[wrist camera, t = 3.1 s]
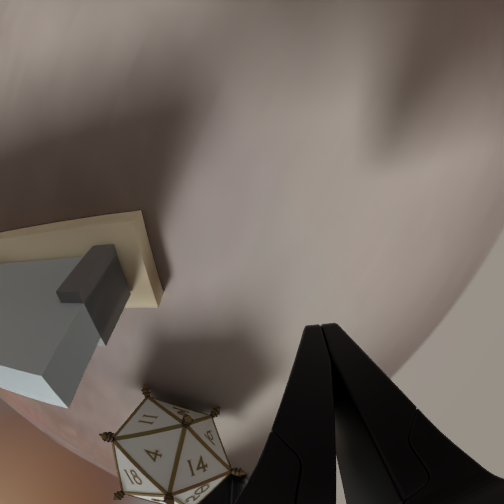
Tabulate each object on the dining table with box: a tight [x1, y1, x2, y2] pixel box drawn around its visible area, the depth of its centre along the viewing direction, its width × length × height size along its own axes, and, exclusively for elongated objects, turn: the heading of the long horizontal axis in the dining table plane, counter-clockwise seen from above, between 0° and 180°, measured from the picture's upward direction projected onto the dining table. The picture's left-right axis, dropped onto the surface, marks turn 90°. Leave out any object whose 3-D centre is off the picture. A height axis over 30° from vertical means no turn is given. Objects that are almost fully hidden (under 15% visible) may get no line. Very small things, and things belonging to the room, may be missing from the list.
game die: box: [99, 384, 247, 504], centre depth 15 cm, size 9×8×10 cm
